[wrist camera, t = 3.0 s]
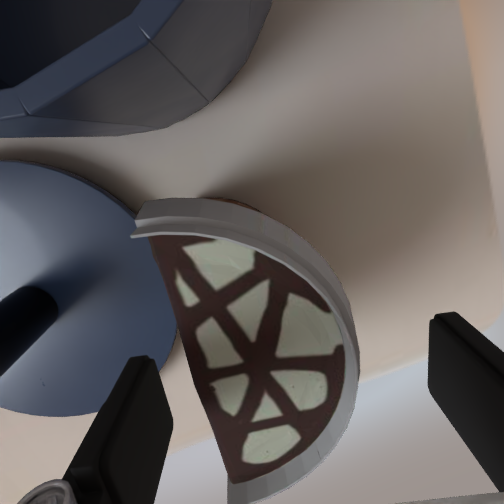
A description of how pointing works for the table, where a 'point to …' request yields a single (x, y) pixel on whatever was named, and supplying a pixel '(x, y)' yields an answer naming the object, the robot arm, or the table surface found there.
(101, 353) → the pot lid
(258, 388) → the food container
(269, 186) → the table surface
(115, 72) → the pot
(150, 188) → the table surface
